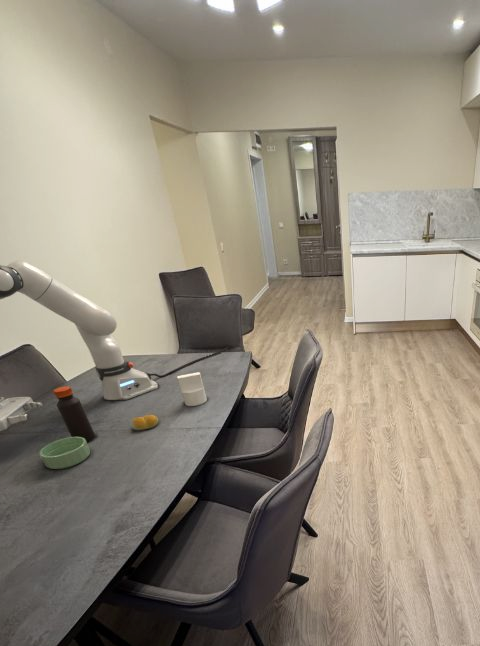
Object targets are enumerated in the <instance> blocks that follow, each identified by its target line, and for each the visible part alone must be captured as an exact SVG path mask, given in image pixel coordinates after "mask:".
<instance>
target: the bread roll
mask: <svg viewBox="0 0 480 646" xmlns="http://www.w3.org/2000/svg"><path fill="white" fill-rule="evenodd" d="M131 423H132V424H131V425H132V428H133V430H135V431H145V430H148V429H153V428H154V427H156V426H157V425H158V424H159V419H158V417H157V416H156V415H154V414H147V415H144V416H137V417H135V418H133V419H132V422H131Z"/></svg>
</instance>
